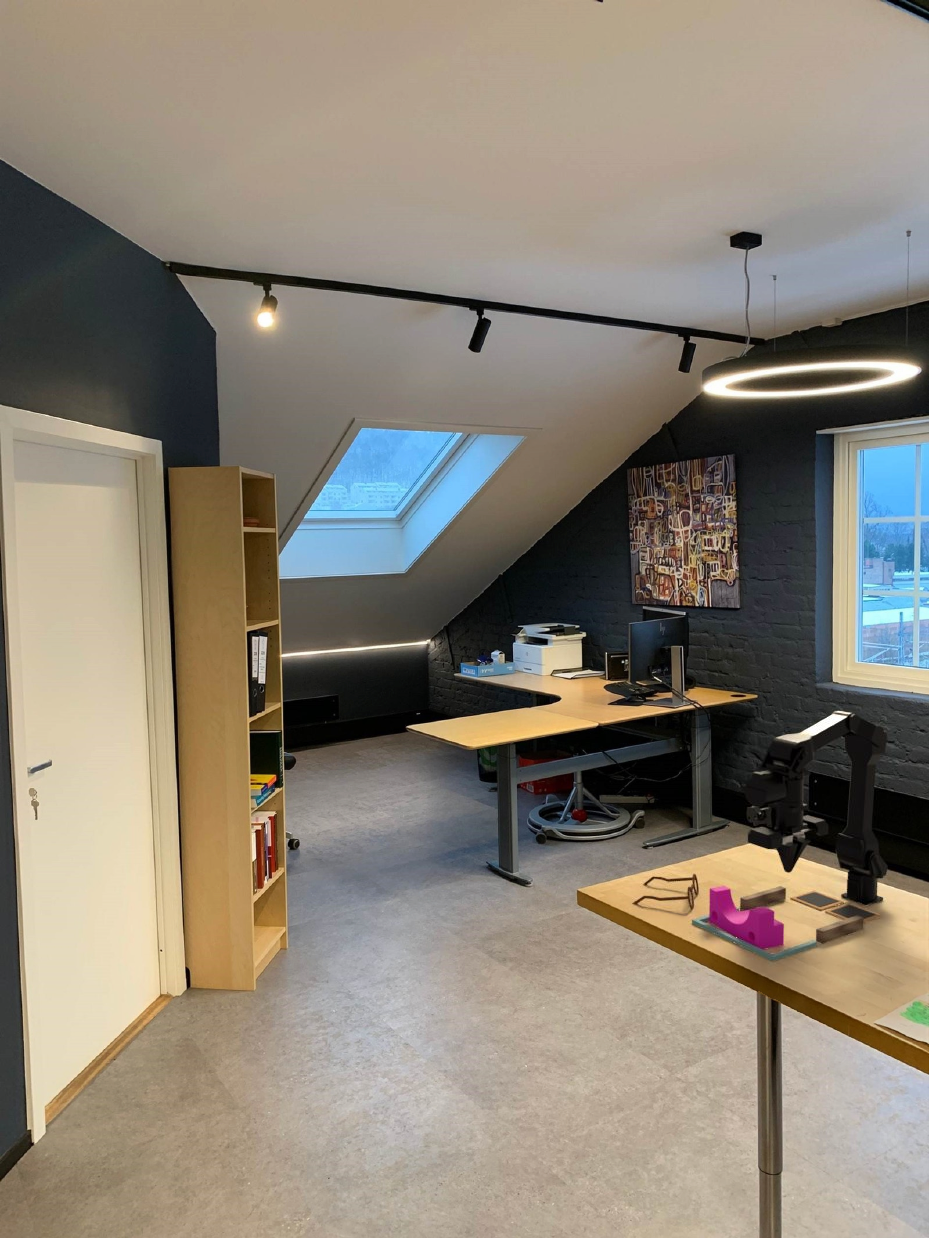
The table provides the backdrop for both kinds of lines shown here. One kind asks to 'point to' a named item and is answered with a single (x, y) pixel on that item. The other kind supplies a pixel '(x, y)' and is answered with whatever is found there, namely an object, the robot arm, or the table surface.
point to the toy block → (745, 920)
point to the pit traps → (825, 902)
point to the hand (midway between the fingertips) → (787, 871)
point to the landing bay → (751, 947)
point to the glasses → (690, 889)
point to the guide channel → (822, 933)
